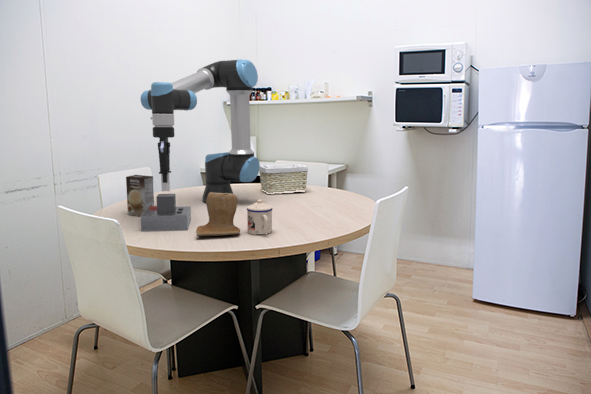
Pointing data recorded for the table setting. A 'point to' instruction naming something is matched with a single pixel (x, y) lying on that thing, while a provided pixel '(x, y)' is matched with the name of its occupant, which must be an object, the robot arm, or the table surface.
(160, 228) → the socket plate
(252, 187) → the table surface
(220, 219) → the brown wooden upright piece
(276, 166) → the storage basket
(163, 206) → the plug
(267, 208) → the teacup with lid
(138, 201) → the coffee box
